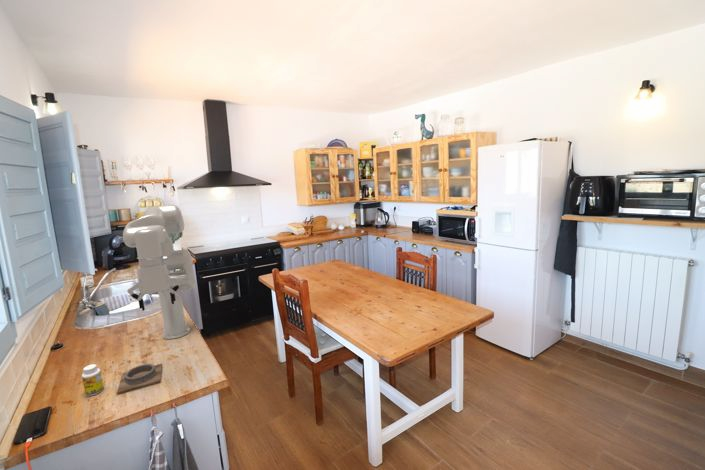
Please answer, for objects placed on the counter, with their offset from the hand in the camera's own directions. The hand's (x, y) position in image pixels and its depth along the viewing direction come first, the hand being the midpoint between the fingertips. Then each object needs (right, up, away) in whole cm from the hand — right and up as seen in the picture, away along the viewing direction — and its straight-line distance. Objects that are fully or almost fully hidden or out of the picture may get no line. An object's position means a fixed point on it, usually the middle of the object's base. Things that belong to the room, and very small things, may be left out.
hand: (158, 306), depth 127 cm
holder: (-11, -30, +7) cm, 33 cm away
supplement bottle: (-24, -32, 0) cm, 40 cm away
